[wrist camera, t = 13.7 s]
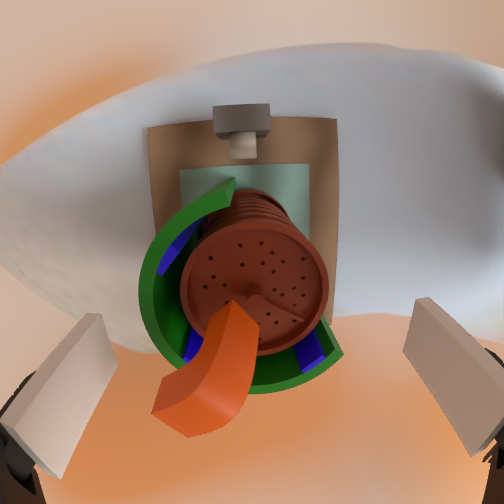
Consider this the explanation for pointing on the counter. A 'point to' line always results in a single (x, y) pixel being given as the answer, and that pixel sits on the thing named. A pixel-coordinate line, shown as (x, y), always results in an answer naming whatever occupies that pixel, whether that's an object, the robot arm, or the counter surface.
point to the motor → (233, 307)
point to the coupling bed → (253, 169)
